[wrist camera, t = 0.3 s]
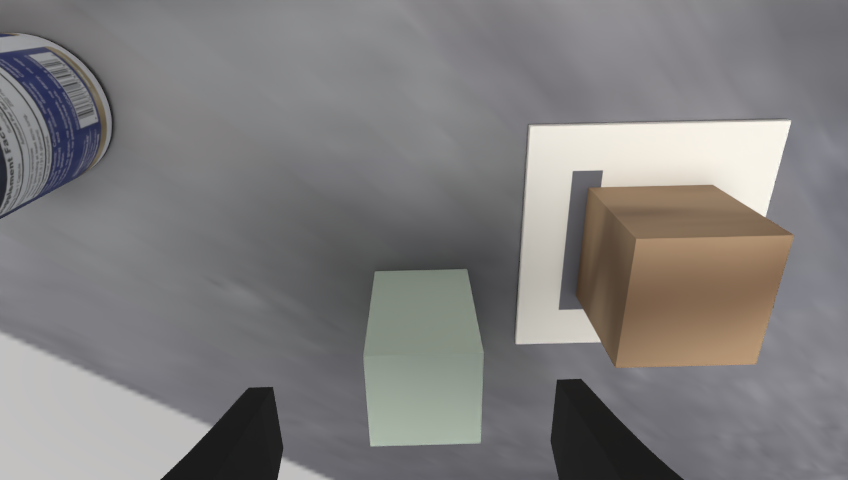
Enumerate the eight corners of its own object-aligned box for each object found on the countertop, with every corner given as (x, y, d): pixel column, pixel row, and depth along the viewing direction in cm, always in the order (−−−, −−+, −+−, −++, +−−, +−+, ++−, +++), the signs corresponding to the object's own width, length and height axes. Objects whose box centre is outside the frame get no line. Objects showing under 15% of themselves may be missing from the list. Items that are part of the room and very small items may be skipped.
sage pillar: (465, 345, 25) (480, 443, 19) (379, 347, 25) (370, 446, 19) (467, 268, 23) (483, 352, 18) (374, 271, 23) (363, 355, 18)
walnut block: (689, 292, 23) (755, 364, 19) (575, 295, 23) (615, 367, 19) (712, 184, 21) (793, 235, 17) (588, 187, 21) (636, 239, 17)
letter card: (729, 334, 25) (732, 339, 24) (514, 340, 25) (516, 344, 24) (786, 119, 21) (791, 120, 20) (528, 124, 20) (530, 126, 20)
